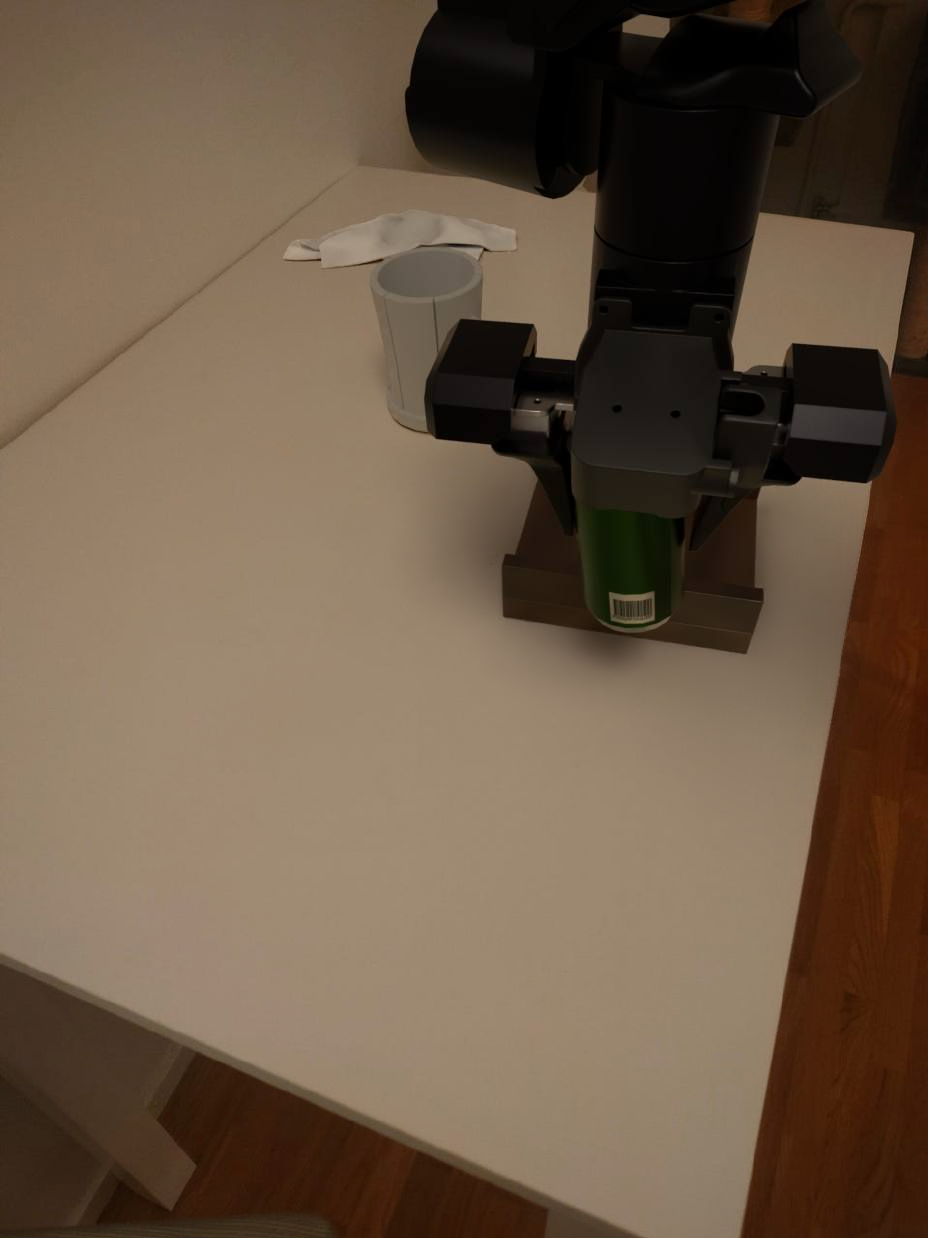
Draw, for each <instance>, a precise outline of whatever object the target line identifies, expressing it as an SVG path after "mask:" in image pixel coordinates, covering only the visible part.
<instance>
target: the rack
mask: <svg viewBox="0 0 928 1238" xmlns="http://www.w3.org/2000/svg"><path fill="white" fill-rule="evenodd" d="M761 488H762V487H757V488H756V489H754V490H753V491H752V492H751V493H750V494H748V495H747V496H746V497H745V498H744V499H743V500H742V501H741V502H740V503H738V504H737V505H736V506H735V508H734V509H733V510H732V511H731V512H730V513H729V514H728V516H727V517H726V518H725V519H724V520H723V522H722V523H721V524H720V525H719V526H718V528H717V529H716V530H715V531H714V532H713V534H712V535H711V536H710V537H709V538H708V540H707V541H706V542H705V543H704V544H703V546H702V547H701V548H700V549H699V550H698V551H697V552H693V551H689V543H690V535H691V529H692V524H693V518H694V513H695V510H694V511H693V512H692V513H691V514H689V515H687V516H686V528H685V584H684V596H683V599H682V602H681V605H680V606H679V608H678V609H677V610H676V612H675V613H674V614H673V615H672V616H671V617H670V619H669V620H668V621H667V622H665V623H664V624H662V625H660V626H659V627H657V628H655V629H652V630H648V631H645V632H636V633H626V632H621V631H616V630H613V629H611V628H609V627H607V626H605V625H603V624H602V623H601V622H600V621H599V620H598V619H597V618H596V617H595V616H594V615H593V614H592V613H591V612H590V611H589V610H588V608H587V605H586V603H585V601H584V598H583V590H582V581H581V572H580V564H579V555H578V547H577V538H576V529H575V527H574V532H573V536H565V535H564V533H563V531H562V529H561V527H560V524H559V522H558V520H557V518H556V515H555V513H554V511H553V509H552V506H551V504H550V502H549V500H548V497H547V495H546V493H545V491H544V489H543V487H542V485H541V483H540V481H539V479H538V478H537V479H536V483H535V486H534V489H533V492H532V496H531V499H530V503H529V506H528V509H527V512H526V516H525V519H524V523H523V526H522V530H521V533H520V536H519V540H518V543H517V546H516V549H515V554H513V553H504V556H503V559H502V562H501V565H500V567H501V595H502V617H503V618H507V619H508V618H509V619H515V620H522V621H527V622H535V623H541V624H546V625H547V624H548V625H554V626H561V627H568V628H574V629H580V630H588V631H594V632H600V633H606V634H613V635H619V636H625V637H633V638H639V639H645V640H653V641H659V642H666V643H672V644H679V645H685V646H692V647H698V648H706V649H712V650H716V651H717V650H718V651H725V652H732V653H739V654H744V655H746V654H747V653H748V652H749V648H750V645H751V642H752V639H753V636H754V633H755V630H756V627H757V624H758V622H759V618H760V616H761V611H762V608H763V606H764V603H765V589H764V588H762V587H755V584H756V553H757V551H756V550H757V524H758V523H757V521H758V499H759V496H760V493H761Z"/></svg>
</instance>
